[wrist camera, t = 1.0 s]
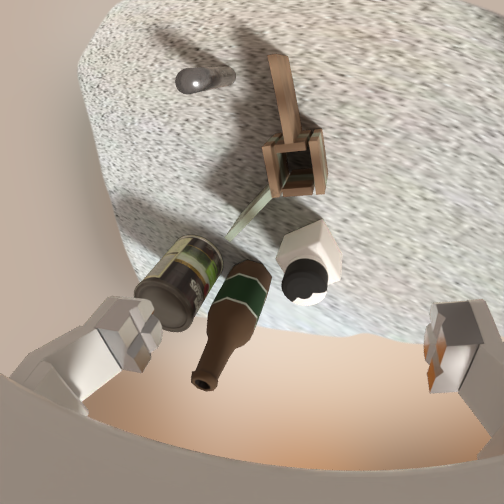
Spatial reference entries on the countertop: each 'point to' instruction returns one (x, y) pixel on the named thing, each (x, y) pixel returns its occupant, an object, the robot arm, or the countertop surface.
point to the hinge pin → (204, 79)
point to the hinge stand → (286, 150)
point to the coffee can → (181, 281)
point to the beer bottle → (231, 319)
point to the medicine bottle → (309, 263)
